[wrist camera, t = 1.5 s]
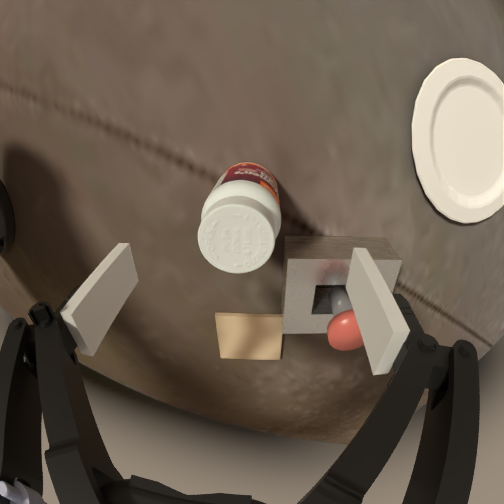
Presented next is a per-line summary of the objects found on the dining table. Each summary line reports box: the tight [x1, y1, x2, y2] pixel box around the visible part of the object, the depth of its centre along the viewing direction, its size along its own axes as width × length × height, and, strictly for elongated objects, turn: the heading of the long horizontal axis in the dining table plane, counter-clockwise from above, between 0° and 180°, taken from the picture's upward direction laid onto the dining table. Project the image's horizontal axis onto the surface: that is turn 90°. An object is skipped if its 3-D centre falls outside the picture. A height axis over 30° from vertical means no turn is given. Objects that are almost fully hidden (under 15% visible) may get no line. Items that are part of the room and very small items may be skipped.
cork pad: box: [215, 313, 282, 360], centre depth 38 cm, size 9×9×1 cm
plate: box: [411, 58, 504, 223], centre depth 22 cm, size 21×21×2 cm
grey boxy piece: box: [281, 235, 402, 334], centre depth 30 cm, size 12×10×5 cm
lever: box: [327, 285, 364, 351], centre depth 26 cm, size 4×4×6 cm
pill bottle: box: [198, 163, 281, 273], centre depth 23 cm, size 6×6×11 cm
